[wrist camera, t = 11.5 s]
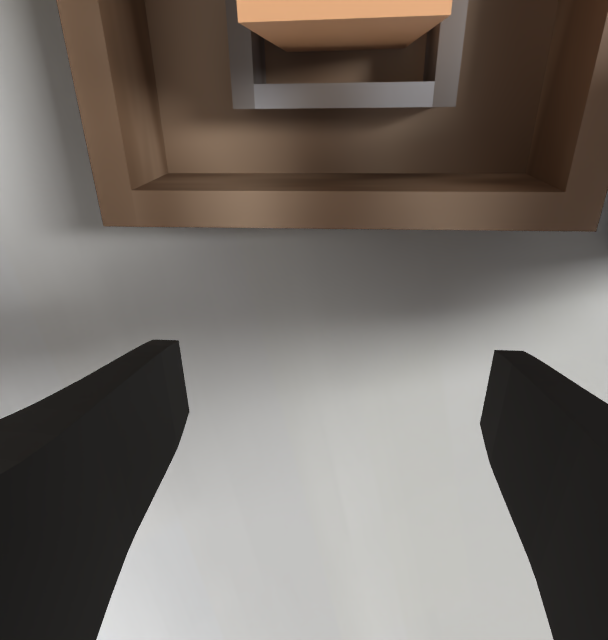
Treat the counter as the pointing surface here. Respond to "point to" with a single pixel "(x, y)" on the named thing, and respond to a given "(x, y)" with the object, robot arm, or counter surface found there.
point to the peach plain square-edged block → (341, 22)
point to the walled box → (344, 119)
